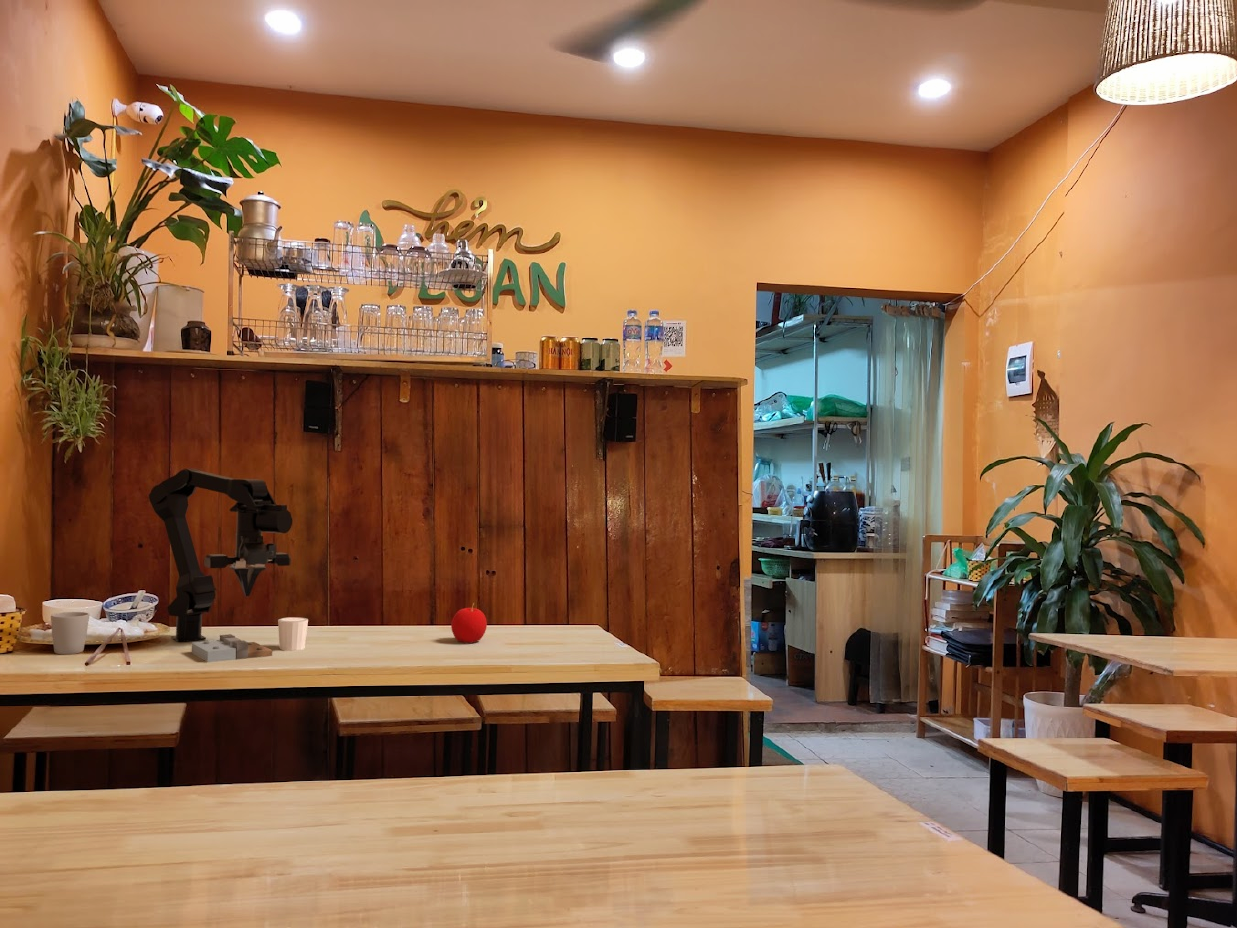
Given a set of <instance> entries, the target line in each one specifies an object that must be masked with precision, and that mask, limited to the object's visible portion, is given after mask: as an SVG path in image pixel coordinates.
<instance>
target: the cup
mask: <svg viewBox="0 0 1237 928" xmlns="http://www.w3.org/2000/svg"><path fill="white" fill-rule="evenodd" d="M89 620H90V613H89V612H85V611H65V612H57V613H52V614H51V615H50V624H51V635H52V644H53V651H54V653H55V654H57V655H76V654H80V653H82V652H83V651H84V649H85V643H86V638H87V633H88V628H89V627H88V626H89Z"/></svg>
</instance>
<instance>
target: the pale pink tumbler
mask: <svg viewBox="0 0 1237 928" xmlns="http://www.w3.org/2000/svg"><path fill="white" fill-rule="evenodd" d="M308 622H309V619H308V618H305V617H297V616H295V617H293V616H292V617H291V616H290V617H283V618H279V619H277V623H278V624H277V625H278V628H277V629H278V645H279V650H281V651H286V652H287V651H289V652H291V651H292V652H293V651H303V650H305V647H306V641H307V640H306V639H307V633H308Z"/></svg>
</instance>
